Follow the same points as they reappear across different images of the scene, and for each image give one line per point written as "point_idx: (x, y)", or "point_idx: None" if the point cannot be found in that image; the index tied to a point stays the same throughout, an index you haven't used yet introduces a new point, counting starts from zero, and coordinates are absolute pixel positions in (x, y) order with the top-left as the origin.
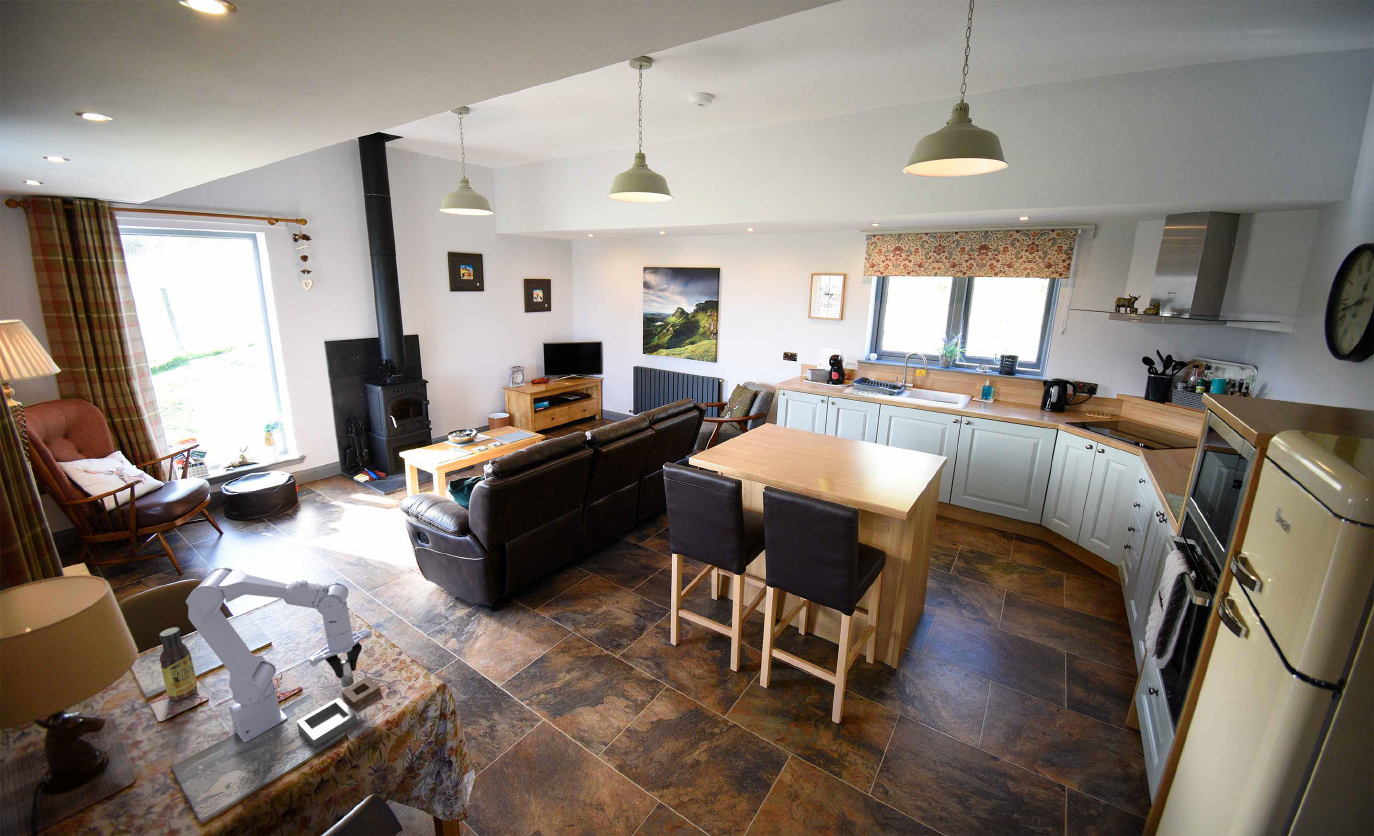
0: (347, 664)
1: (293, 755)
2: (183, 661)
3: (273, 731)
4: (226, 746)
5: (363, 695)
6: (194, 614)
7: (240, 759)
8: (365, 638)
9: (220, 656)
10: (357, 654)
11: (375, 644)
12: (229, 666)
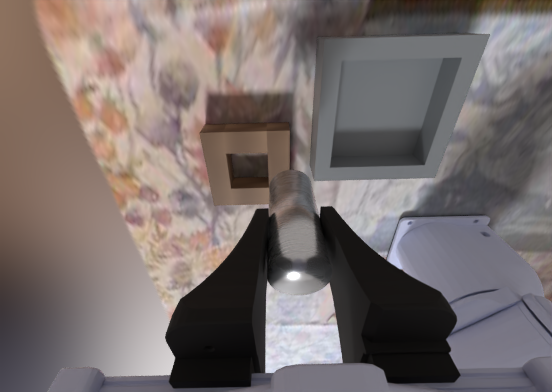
0: (296, 247)
1: (496, 73)
2: None
3: (439, 204)
4: (502, 231)
5: (255, 136)
6: None
7: (533, 175)
8: (115, 377)
9: None
10: (226, 275)
11: (165, 289)
12: None
